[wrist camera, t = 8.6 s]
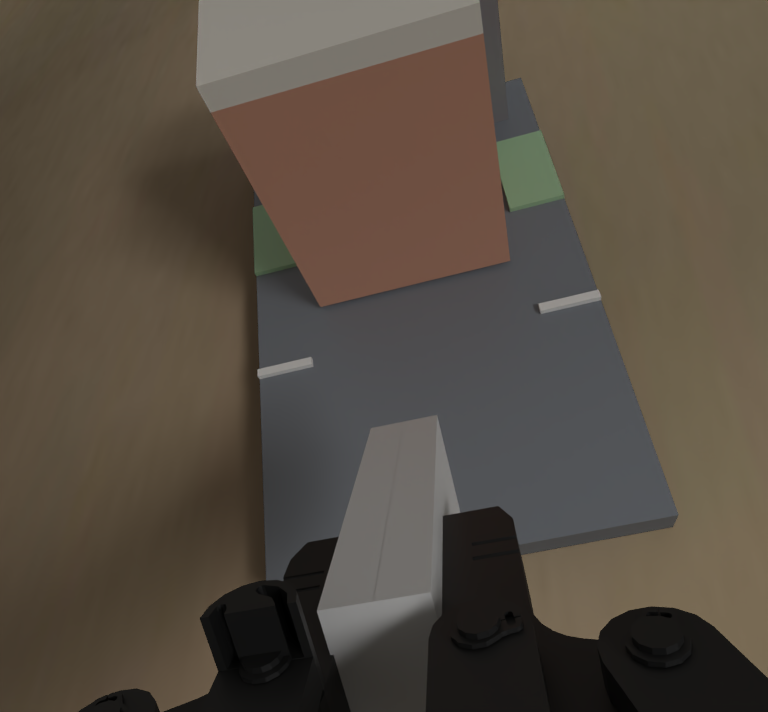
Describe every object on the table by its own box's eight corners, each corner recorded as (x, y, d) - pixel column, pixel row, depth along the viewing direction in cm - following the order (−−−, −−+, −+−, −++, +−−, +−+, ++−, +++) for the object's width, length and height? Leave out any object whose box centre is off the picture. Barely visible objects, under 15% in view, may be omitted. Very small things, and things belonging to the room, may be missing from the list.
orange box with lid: (482, 161, 26) (443, -105, 18) (510, 260, 24) (479, 2, 16) (311, 207, 27) (199, -27, 19) (320, 306, 25) (196, 86, 16)
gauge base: (522, 100, 29) (510, -67, 23) (672, 526, 20) (720, 428, 14) (262, 172, 31) (188, 32, 25) (280, 599, 21) (165, 540, 15)
